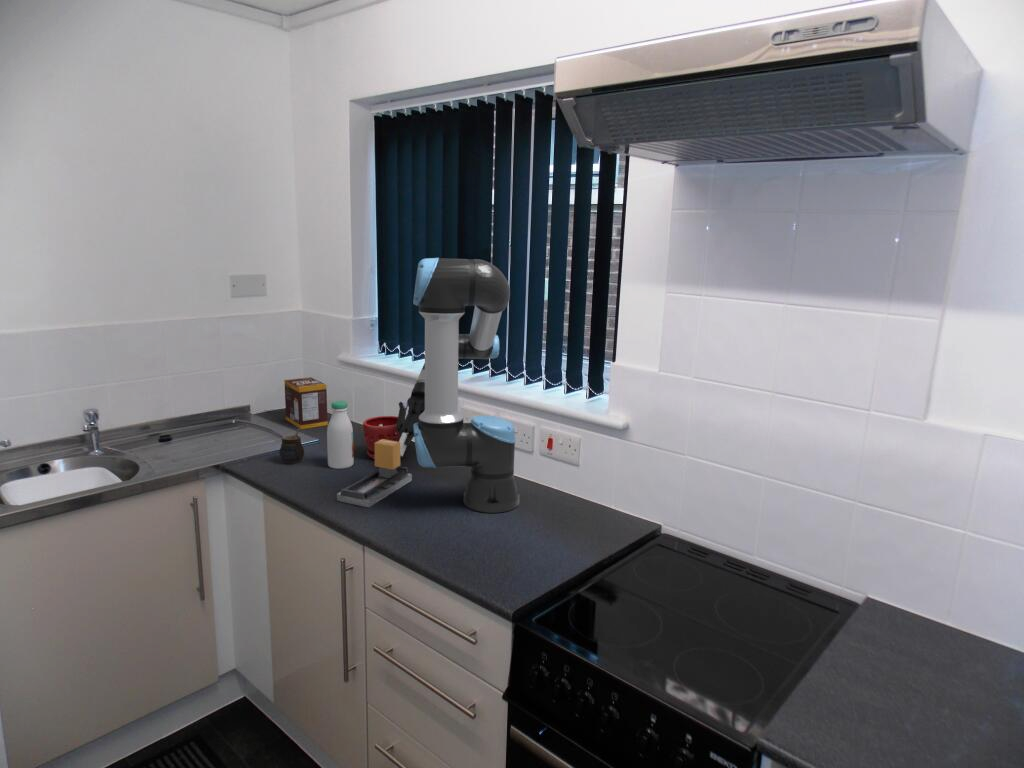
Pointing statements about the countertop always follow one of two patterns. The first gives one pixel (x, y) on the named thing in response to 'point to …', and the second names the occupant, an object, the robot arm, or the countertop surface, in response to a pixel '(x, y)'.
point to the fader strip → (374, 488)
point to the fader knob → (387, 457)
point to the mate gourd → (291, 449)
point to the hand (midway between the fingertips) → (398, 454)
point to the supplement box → (306, 402)
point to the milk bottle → (340, 437)
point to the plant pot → (379, 431)
